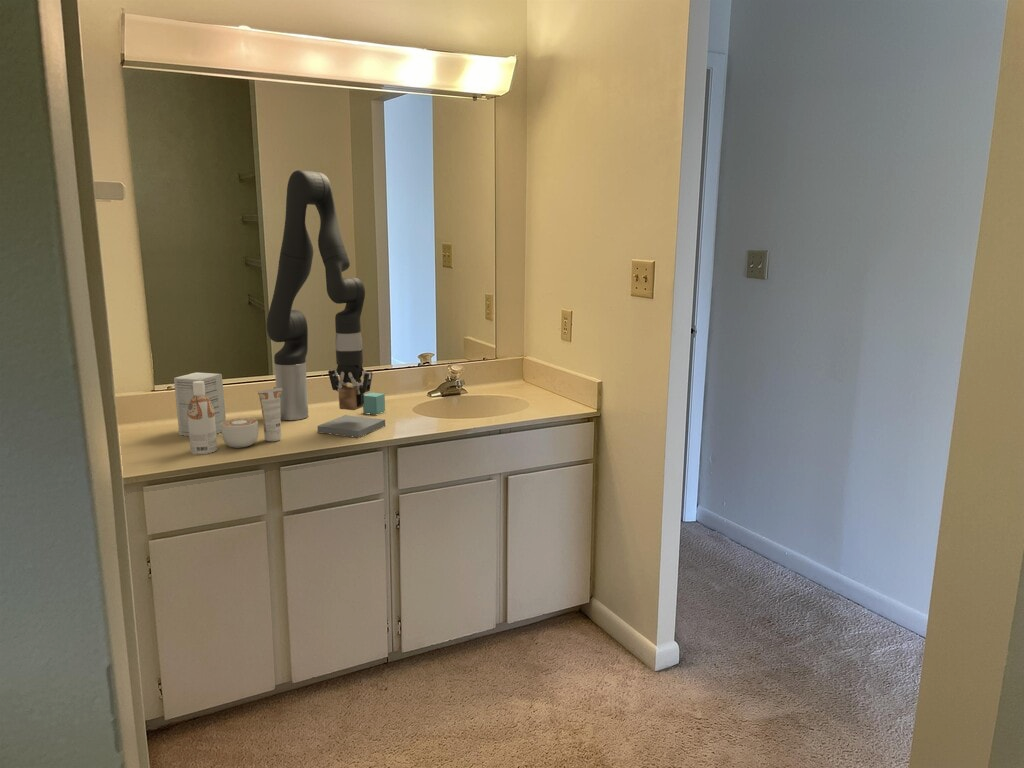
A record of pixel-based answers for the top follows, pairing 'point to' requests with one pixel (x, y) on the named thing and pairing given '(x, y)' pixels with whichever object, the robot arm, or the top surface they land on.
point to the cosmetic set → (230, 422)
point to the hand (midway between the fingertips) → (351, 405)
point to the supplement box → (186, 393)
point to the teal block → (374, 403)
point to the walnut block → (348, 398)
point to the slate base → (351, 425)
